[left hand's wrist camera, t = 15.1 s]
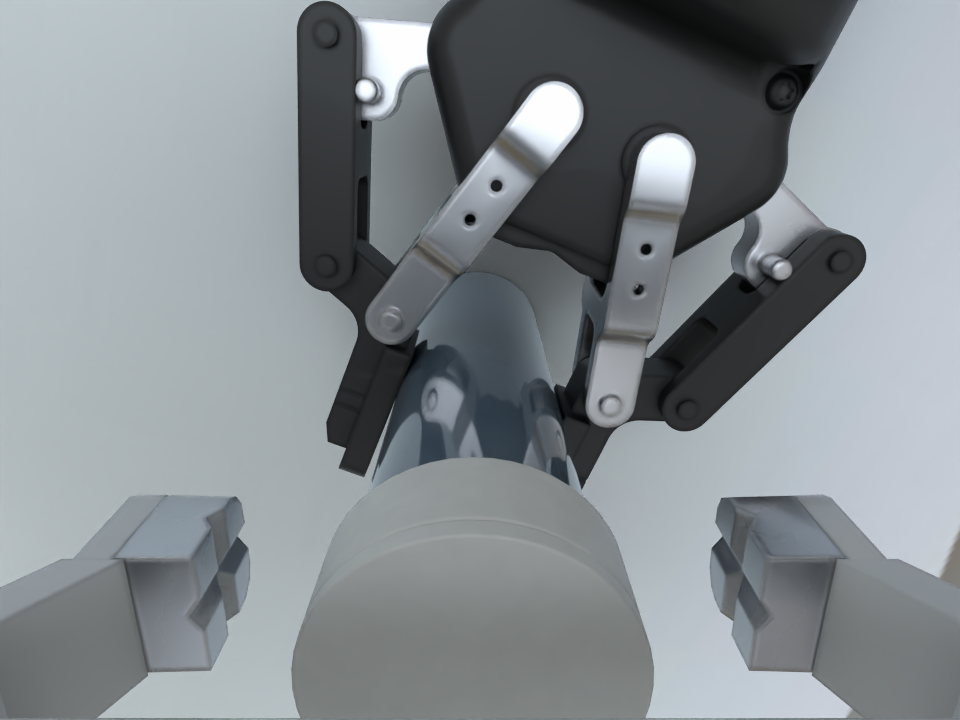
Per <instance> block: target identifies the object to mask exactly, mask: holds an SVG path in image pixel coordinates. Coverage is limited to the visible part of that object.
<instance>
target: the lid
mask: <svg viewBox="0 0 960 720" xmlns="http://www.w3.org/2000/svg"><path fill="white" fill-rule="evenodd" d="M291 671H292V689H293V693H294V698H295V703H296V707H297V710H298V713H299V715H300V718H645V717H646V714H647V712H648V709H649V706H650V702H651V696H652V691H653V680H654V666H653V659H652V653H651V648H650V644H649V641H648V638H647V635H646V632H645V629H644V625H643V622H642V619H641V616H640V613H639V610H638V607H637V603H636V600H635V597H634V594H633V591H632V588H631V585H630V581H629V578H628V575H627V572H626V569H625V566H624V563H623V559H622V556H621V553H620V550H619V547H618V544H617V541H616V539H615V538H614V536H613V534H612V532H611V530H610V528H609V526H608V525H607V523H606V522H605V520H604V519H603V518H602V516H601V515H600V513H599V512H598V511H597V510H596V509H595V508H594V507H593V506H592V505H591V504H590V503H589V502H588V501H587V500H586V498H584V497H583V496H582V495H581V494H579V493H578V492H577V491H575V490H574V489H573V488H572V487H570V486H569V485H567V484H565V483H564V482H562V481H560V480H559V479H557V478H555V477H554V476H552V475H550V474H547V473H545V472H543V471H540V470H538V469H536V468H533V467H530V466H527V465H523V464H520V463H517V462H513V461H507V460H501V459H495V458H481V457H465V458H451V459H445V460H440V461H435V462H430V463H427V464H424V465H420V466H417V467H414V468H411V469H409V470H407V471H404V472H402V473H400V474H398V475H396V476H393V477H391V478H390V479H388V480H387V481H385V482H383V483H382V484H380V485H379V486H377V487H375V488H374V489H373V490H372V491H370V492H369V493H368V494H367V495H366V496H364V497H363V498H362V499H361V500H360V501H359V502H358V503H357V504H356V505H355V506H354V507H353V508H352V509H351V510H350V512H349V513H348V514H347V515H346V517H345V518H344V520H343V521H342V523H341V524H340V526H339V527H338V529H337V531H336V533H335V535H334V537H333V539H332V541H331V543H330V546H329V549H328V552H327V554H326V557H325V560H324V563H323V566H322V569H321V572H320V574H319V577H318V580H317V583H316V586H315V589H314V592H313V594H312V597H311V600H310V603H309V606H308V609H307V612H306V615H305V618H304V620H303V623H302V626H301V629H300V632H299V635H298V638H297V642H296V645H295V648H294V652H293V661H292V669H291Z"/></svg>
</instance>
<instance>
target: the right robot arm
mask: <svg viewBox="0 0 960 720" xmlns="http://www.w3.org/2000/svg"><path fill="white" fill-rule="evenodd" d="M857 1H858V0H450V1H449V2H448V3H447V4H446V5H445V6H444V7H443V8H442V9H441V10H440V11H439V13H438V14H437V16H436V18H435V19H434V21H433V23H423V22H411V21H399V20H388V19H376V18H364V17H356V16H353V15H351V14H350V13H349V12H347V11H346V10H345V9H344V8H343V7H341V6H340V5H338V4H336V3H333V2H330V1H319V2H316V3H313V4H312V5H310V6H309V7H307V8H306V9H305V10H304V11H303V13H302V15H301V16H300V19H299V21H298V26H297V74H298V161H299V247H300V269H301V273H302V275H303V277H304V278H305V280H306V281H307V282H308V283H309V284H310V285H311V286H313V287H314V288H316V289H318V290H321V291H329V292H330V293H331V294H333V295H334V296H335V297H336V298H337V299H339V300H340V301H341V302H342V303H343V304H345V305H346V306H347V307H348V308H349V309H350V310H351V312H352V313H353V315H354V316H355V319H356V321H357V325H358V337H357V341H356V344H355V346H354V349H353V352H352V355H351V357H350V360H349V363H348V365H347V368H346V371H345V373H344V376H343V379H342V382H341V384H340V387H339V390H338V392H337V395H336V398H335V400H334V403H333V406H332V409H331V411H330V414H329V417H328V419H327V422H326V423H327V438H328V442H330V443H333V444H336V445H339V446H342V447H344V448H346V450H345V453H344V455H343V458H342V461H341V463H340V466H339V469H342V470H345V471H348V472H351V473H353V474H356V475H359V476H362V477H364V476H365V474H366V471H367V469H368V466H369V464H370V461H371V459H372V456H373V454H374V451H375V449H376V446H377V444H378V441H379V439H380V436H381V434H382V431H383V429H384V426H385V424H386V421H387V419H388V416H389V414H390V411H391V409H392V407H393V404H394V402H395V399H396V396H397V393H398V391H399V388H400V386H401V384H402V382H403V379H404V377H405V374H406V372H407V369H408V367H409V364H410V362H411V359H412V357H413V353H414V349H415V346H416V342H417V339H418V335H419V331H420V330H418V329H417V328H418V327H419V326H420V324H421V323H422V322H423V321H424V319H425V318H426V317H427V315H428V314H429V313H430V312H431V310H432V309H433V308H434V307H435V305H436V304H437V303H438V301H439V300H440V299H441V298H442V296H443V295H444V294H445V293H446V291H447V290H448V289H449V287H450V286H451V285H452V284H453V283H454V281H455V280H456V279H458V278H459V277H460V276H461V275H462V274H463V273H464V272H465V271H466V270H467V269H468V267H469V266H470V265H471V264H472V262H473V261H474V260H475V259H476V257H477V256H478V255H479V253H480V252H481V251H482V250H483V248H484V247H485V246H486V245H487V243H488V242H489V241H490V240H491V238H492V237H494V238H497V239H499V240H502V241H504V242H506V243H509V244H511V245H514V246H516V247H523V248H531V249H539V250H547V251H551V252H553V253H555V254H556V255H557V256H559V257H560V258H561V259H562V260H564V261H565V262H566V263H568V264H569V265H570V266H571V267H573V268H574V269H575V270H577V271H578V272H579V273H581V274H584V275H585V279H584V285H583V292H582V317H581V323H580V329H579V334H578V340H577V346H576V352H575V358H574V364H573V371H572V373H573V374H572V376H571V378H570V380H569V382H568V384H567V386H566V388H565V387H563V386H560V385H558V384H556V385H555V387H554V389H555V393H556V397H557V400H558V404H559V408H560V412H561V415H562V419H563V423H564V427H565V430H566V434H567V438H568V442H569V445H570V449H571V453H572V457H573V460H574V464H575V468H576V472H577V475H578V479H579V483H580V487H581V490H582V488H583V486H584V484H585V482H586V479H588V477H589V475H590V473H591V471H592V469H593V467H594V465H595V463H596V461H597V459H598V458H599V456H600V454H601V452H602V450H603V448H604V446H605V444H606V442H607V440H608V438H609V437H610V435H611V434H612V433H613V431H614V430H615V429H617V428H618V427H619V426H621V425H622V424H625V423H627V422H630V421H635V420H646V421H665V422H666V423H667V424H668V425H669V426H670V427H671V428H673V429H675V430H678V431H691V430H694V429H697V428H698V427H700V426H702V425H703V424H704V423H705V422H706V421H707V420H708V419H709V418H710V417H711V416H712V415H713V414H714V413H715V412H717V411H718V410H719V409H720V408H721V407H722V406H723V405H724V404H725V403H726V402H727V401H728V400H729V399H730V398H731V397H732V396H733V395H734V394H735V393H736V392H738V391H739V390H740V389H741V388H742V387H743V386H744V385H745V384H746V383H747V382H748V381H749V380H750V379H751V378H752V377H753V376H754V375H755V374H756V373H757V372H758V371H760V370H761V369H762V368H763V367H764V366H765V365H766V364H767V363H768V362H769V361H770V360H771V359H772V358H773V357H774V356H775V355H776V354H777V353H778V352H779V351H780V350H782V349H783V348H784V347H785V346H786V345H787V344H788V343H789V342H790V341H791V340H792V339H793V338H794V337H795V336H796V335H797V334H798V333H799V332H800V331H801V330H802V329H804V328H805V327H806V326H807V325H808V324H809V323H810V322H811V321H812V320H813V319H814V318H815V317H816V316H817V315H818V314H819V313H820V312H821V311H822V310H823V309H824V308H826V307H827V306H828V305H829V304H830V303H831V302H832V301H833V300H834V299H835V298H836V297H837V296H838V295H839V294H840V293H841V292H842V291H843V290H844V289H845V288H846V287H848V286H849V285H850V284H851V283H852V282H853V281H854V280H855V279H856V278H857V277H858V276H859V275H860V273H861V272H862V270H863V268H864V266H865V262H866V251H865V248H864V246H863V244H862V242H861V241H860V240H859V239H857V238H856V237H853V236H851V235H848V234H844V233H842V232H840V231H838V230H836V229H832V228H829V227H826V226H825V225H824V224H823V223H822V222H821V221H820V220H819V219H818V218H817V217H816V216H815V215H814V214H813V213H812V212H811V211H810V210H809V209H808V208H807V207H806V206H805V205H804V204H803V203H802V202H801V201H800V200H799V199H798V198H797V197H796V196H795V195H794V194H793V193H792V192H791V191H790V190H789V189H788V188H787V187H786V186H785V185H784V184H783V183H782V181H783V179H784V176H785V173H786V170H787V164H788V140H789V133H790V127H791V123H792V120H793V116H794V114H795V111H796V109H797V107H798V105H799V103H800V102H801V100H802V98H803V97H804V95H805V94H806V92H807V91H808V89H809V88H810V86H811V84H812V83H813V81H814V80H815V78H816V77H817V75H818V73H819V72H820V70H821V68H822V67H823V65H824V63H825V61H826V60H827V58H828V56H829V54H830V52H831V50H832V48H833V46H834V44H835V43H836V41H837V39H838V37H839V35H840V33H841V31H842V29H843V27H844V26H845V24H846V22H847V20H848V18H849V16H850V14H851V12H852V11H853V9H854V7H855V5H856V3H857ZM424 72H430V73H431V77H432V81H433V86H434V90H435V94H436V98H437V102H438V106H439V110H440V114H441V118H442V122H443V126H444V130H445V135H446V139H447V143H448V147H449V151H450V155H451V159H452V163H453V167H454V171H455V175H456V179H457V183H456V185H455V186H454V187H453V189H452V190H451V191H450V193H449V194H448V195H447V197H446V198H445V199H444V201H443V202H442V203H441V205H440V206H439V207H438V209H437V210H436V211H435V213H434V214H433V215H432V217H431V218H430V219H429V221H428V222H427V224H426V225H425V226H424V228H423V229H422V231H421V232H420V233H419V235H418V236H417V238H416V239H415V240H414V242H413V243H412V244H411V246H410V247H409V248H408V249H407V251H406V252H405V253H404V255H403V256H402V257H401V259H400V260H399V261H398V263H397V264H396V265H394V264H393V263H391V262H390V261H389V260H388V259H387V258H386V257H385V256H383V255H382V254H381V253H380V252H379V251H378V250H377V249H375V248H374V247H373V246H372V245H371V244H370V243H369V227H370V182H371V137H372V121H382V120H385V119H388V118H390V117H391V116H393V115H394V114H395V113H396V112H397V110H398V109H399V107H400V105H401V102H402V96H403V92H404V89H405V87H406V85H407V83H408V82H409V81H410V80H411V79H412V78H413V77H414V76H416V75H418V74H420V73H424ZM742 218H744V221H745V228H744V232H743V235H742V237H741V239H740V240H739V242H738V243H737V244H736V246H735V247H734V249H733V252H732V256H731V265H732V268H733V270H734V273H733V274H732V275H731V276H730V277H729V278H728V279H727V280H726V281H725V282H724V283H723V284H722V285H721V286H720V287H719V288H718V289H717V290H716V291H715V292H714V293H713V294H712V295H711V296H710V297H709V298H708V299H707V300H706V301H705V302H704V303H703V304H702V305H701V306H700V307H699V308H698V309H697V310H696V311H695V312H694V313H693V314H692V315H691V316H690V317H689V318H688V319H687V320H686V321H685V322H684V323H683V324H682V325H681V326H680V328H679V329H678V330H677V331H676V332H675V333H674V334H673V335H672V336H671V337H670V338H669V339H668V340H667V341H666V342H665V343H664V344H663V345H662V346H661V347H660V348H659V349H658V350H657V351H656V352H655V353H654V354H653V355H652V356H651V357H650V358H645V354H646V350H647V346H648V344H649V342H650V341H652V340H653V338H654V337H655V334H656V332H657V328H658V324H659V319H660V314H661V309H662V305H663V300H664V295H665V290H666V286H667V281H668V276H669V271H670V267H671V262H672V259H673V258H675V257H677V256H678V255H680V254H682V253H683V252H685V251H687V250H689V249H690V248H692V247H694V246H695V245H697V244H699V243H701V242H702V241H704V240H706V239H707V238H709V237H711V236H713V235H714V234H716V233H718V232H720V231H721V230H723V229H725V228H726V227H728V226H730V225H732V224H733V223H735V222H737V221H738V220H740V219H742ZM637 284H639V286H638V288H636V286H635V285H637Z"/></svg>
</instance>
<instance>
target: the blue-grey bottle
mask: <svg viewBox="0 0 960 720" xmlns="http://www.w3.org/2000/svg"><path fill="white" fill-rule="evenodd" d="M417 329H418V330H420V331H419V335H418V339H417V342H416V346H415V349H414V353H413V357H412V359H411V362H410V364H409V367H408V369H407V372H406V374H405V377H404V379H403V382H402V384H401V386H400V388H399V391H398V393H397V396H396V400H395V403H394V406H393V410H392V413H391V416H390V420H389V423H388V426H387V430H386V433H385V436H384V440H383V443H382V447H381V450H380V453H379V457H378V460H377V463H376V467H375V470H374V473H373V477H372V480H371V483H370V487H369V490H368V493H369V492H370V491H372V490H373V489H374V488H375V487H377V486H379V485H380V484H382V483H383V482H385V481H387V480H388V479H390V478H391V477H393V476H396V475H398V474H400V473H402V472H404V471H407V470H409V469H411V468H414V467H417V466H420V465H424V464H427V463H430V462H435V461H440V460H445V459H451V458H465V457H481V458H495V459H501V460H507V461H513V462H517V463H520V464H523V465H527V466H530V467H533V468H536V469H538V470H540V471H543V472H545V473H547V474H550V475H552V476H554V477H555V478H557V479H559V480H560V481H562V482H564V483H565V484H567V485H569V486H570V487H572V488H573V489H574V490H575V491H577V492H578V493H579V494H581V495H582V496H583V494H582V490H581V487H580V483H579V479H578V475H577V472H576V468H575V464H574V460H573V457H572V453H571V449H570V445H569V442H568V438H567V434H566V430H565V427H564V423H563V419H562V415H561V412H560V408H559V404H558V400H557V397H556V393H555V389H554V385H553V382H552V378H551V374H550V370H549V367H548V363H547V359H546V356H545V352H544V348H543V344H542V341H541V337H540V333H539V329H538V326H537V322H536V318H535V315H534V311H533V308H532V306H531V304H530V302H529V300H528V299H527V297H526V296H525V294H524V293H523V292H522V291H521V290H520V289H519V288H518V287H517V286H516V285H515V284H513V283H512V282H510V281H509V280H507V279H505V278H503V277H501V276H498V275H495V274H491V273H486V272H470V273H464V274H462V275H461V276H460V277H459V278H458V279H456V280H455V281H454V283H453V284H452V285H451V286H450V287H449V289H448V290H447V291H446V293H445V294H444V295H443V296H442V298H441V299H440V300H439V301H438V303H437V304H436V305H435V307H434V308H433V309H432V310H431V312H430V313H429V314H428V315H427V317H426V318H425V319H424V321H423V322H422V323H421V324H420V326H419V327H418V328H417ZM368 493H367V494H368Z"/></svg>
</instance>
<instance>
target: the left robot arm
mask: <svg viewBox="0 0 960 720" xmlns="http://www.w3.org/2000/svg"><path fill="white" fill-rule="evenodd" d="M244 523H245V521H244V516H243V510H242V504H241V502H240V501H239V500H238V499H237V497H226V496H175V495H171V496H168V495H138V496H133V497H130V498H129V499H128V500H127V501H126V502H125V503H124V504H123V505H122V506H121V507H120V508H119V509H118V511H117V512H116V513H115V514H114V515H113V516H112V517H111V518H110V519H109V520H108V521H107V522H106V524H105V525H104V526H103V527H102V528H101V529H100V530H99V531H98V532H97V533H96V534H95V536H94V537H93V538H92V539H91V540H90V541H89V542H88V543H87V544H86V545H85V546H84V548H83V549H82V550H81V551H80V552H79V553H78V554H77V555H76V556H75V557H74V558H73V559H61V560H59V561H57V562H55V563H52V564H50V565H48V566H46V567H44V568H42V569H40V570H37V571H35V572H33V573H31V574H29V575H27V576H24V577H22V578H20V579H18V580H16V581H14V582H12V583H9V584H7V585H5V586H3V587H1V588H0V720H960V588H959V587H957V586H955V585H953V584H950V583H948V582H946V581H944V580H942V579H940V578H938V577H935V576H933V575H931V574H929V573H927V572H925V571H923V570H920V569H918V568H916V567H914V566H912V565H910V564H908V563H905V562H903V561H901V560H899V559H886V557H885V556H884V555H883V554H882V553H881V552H880V551H879V550H878V549H877V548H876V546H875V545H874V544H873V543H872V542H871V541H870V540H869V539H868V538H867V537H866V536H865V534H864V533H863V532H862V531H861V530H860V529H859V528H858V527H857V526H856V525H855V524H854V522H853V521H852V520H851V519H850V518H849V517H848V516H847V515H846V514H845V513H844V512H843V510H842V509H841V508H840V507H839V506H838V505H837V504H836V503H835V502H834V501H833V500H832V498H830V497H827V496H825V495H801V496H767V497H728V498H721V501H720V503H719V505H718V508H717V515H716V521H715V523H716V525H717V526H718V528H719V530H720V532H721V534H722V535H723V537H722V538H721V539H720V540H719V541H718V542H717V543H716V544H715V545H714V546H713V547H712V550H711V560H710V577H711V587H712V591H713V594H714V598H715V601H716V603H717V605H718V607H719V610H720V612H721V613H723V614H724V615H725V616H727V617H728V618H730V619H731V620H733V621H734V622H733V628H732V637H733V639H734V641H735V643H736V645H737V647H738V649H739V651H740V653H741V655H742V657H743V659H744V661H745V663H746V665H747V667H748V669H749V671H782V672H812V676H813V677H815V678H816V679H817V680H818V681H820V682H821V683H822V684H823V685H824V686H826V687H827V688H828V689H829V690H830V691H832V692H833V693H834V694H835V695H837V696H838V697H839V698H840V699H841V700H843V701H844V702H845V703H846V704H847V705H849V706H850V707H851V708H852V709H854V710H855V711H856V712H857V713H858V714H860V715H861V716H862V717H863V718H97V717H98V716H99V715H101V714H102V713H103V712H104V711H106V710H107V709H108V708H109V707H110V706H112V705H113V704H114V703H115V702H116V701H118V700H119V699H120V698H121V697H123V696H124V695H125V694H126V693H127V692H129V691H130V690H131V689H132V688H133V687H135V686H136V685H137V684H138V683H140V682H141V681H142V680H143V679H144V678H146V677H147V676H148V673H147V672H176V671H211V669H212V667H213V665H214V663H215V661H216V659H217V657H218V655H219V653H220V651H221V649H222V647H223V645H224V643H225V641H226V639H227V637H228V628H227V622H226V621H227V620H229V619H230V618H232V617H233V616H235V615H236V614H237V613H239V612H240V609H241V607H242V605H243V603H244V601H245V598H246V594H247V589H248V585H249V580H250V558H249V550H248V547H247V546H246V545H245V544H244V543H243V542H242V541H241V540H240V539H239V538H238V537H237V535H238V534H239V532H240V530H241V528H242V526H243V525H244Z"/></svg>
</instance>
